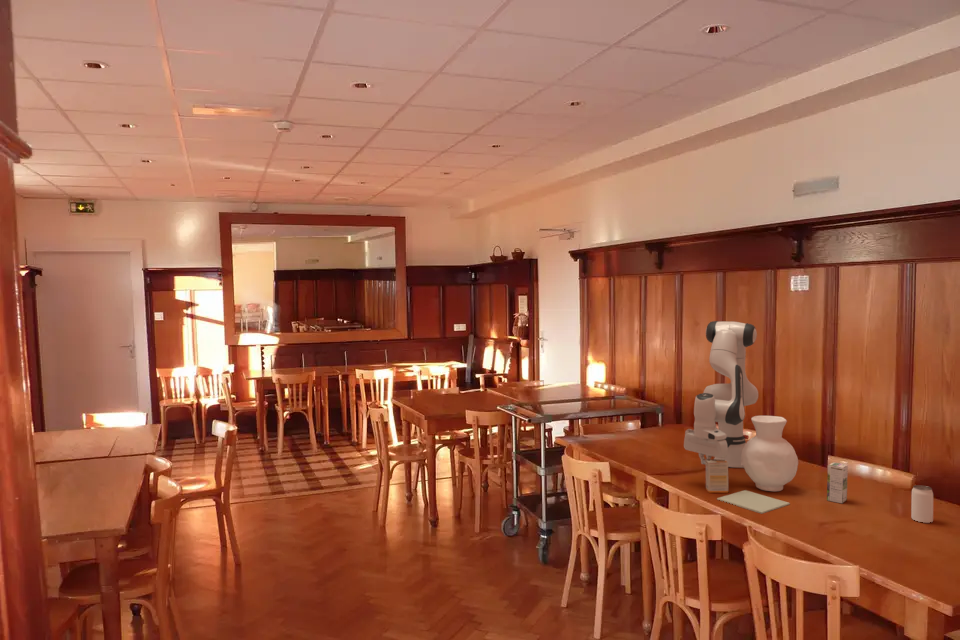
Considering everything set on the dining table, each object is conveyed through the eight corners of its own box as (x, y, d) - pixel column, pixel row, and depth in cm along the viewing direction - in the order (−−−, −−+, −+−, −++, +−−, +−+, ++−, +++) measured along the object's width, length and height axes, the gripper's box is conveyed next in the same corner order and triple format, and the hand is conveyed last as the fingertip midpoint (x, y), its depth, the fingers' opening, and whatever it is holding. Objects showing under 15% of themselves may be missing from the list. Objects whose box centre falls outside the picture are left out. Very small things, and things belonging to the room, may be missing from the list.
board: (745, 491, 270) (745, 490, 270) (789, 504, 253) (789, 502, 253) (716, 499, 261) (716, 498, 261) (761, 513, 244) (761, 512, 244)
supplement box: (725, 489, 273) (725, 458, 273) (728, 493, 268) (728, 462, 268) (705, 489, 274) (705, 458, 273) (708, 493, 269) (708, 461, 269)
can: (933, 524, 229) (933, 491, 228) (911, 521, 232) (911, 488, 232) (932, 519, 235) (932, 486, 234) (910, 516, 238) (911, 483, 237)
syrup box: (831, 497, 261) (831, 461, 260) (847, 500, 256) (847, 464, 256) (826, 500, 257) (826, 464, 256) (843, 504, 252) (843, 467, 252)
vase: (738, 480, 285) (738, 413, 284) (790, 482, 281) (790, 414, 279) (746, 493, 267) (746, 421, 266) (802, 496, 263) (802, 423, 261)
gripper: (680, 428, 282) (680, 460, 283) (720, 437, 265) (720, 470, 265) (690, 427, 286) (690, 457, 286) (729, 435, 268) (730, 468, 269)
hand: (705, 464), depth 276 cm, fingers closed
